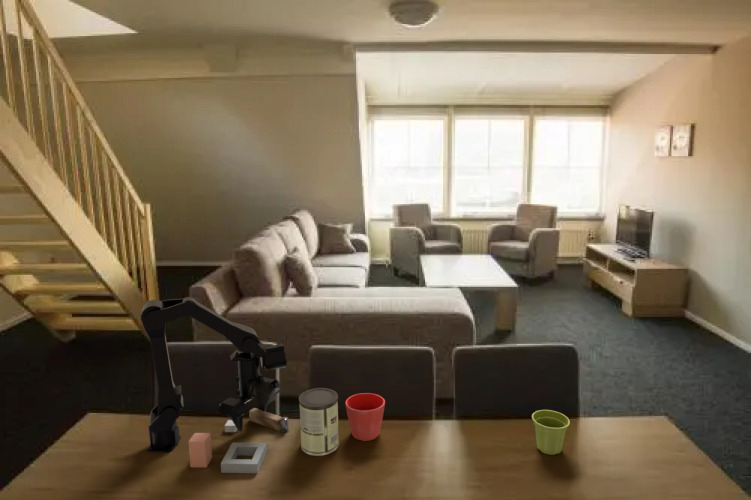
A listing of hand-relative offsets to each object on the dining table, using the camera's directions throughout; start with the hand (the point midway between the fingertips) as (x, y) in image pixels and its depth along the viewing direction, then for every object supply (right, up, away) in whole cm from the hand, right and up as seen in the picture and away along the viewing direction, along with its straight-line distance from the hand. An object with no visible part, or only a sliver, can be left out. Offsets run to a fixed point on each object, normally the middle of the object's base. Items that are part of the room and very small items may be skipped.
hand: (251, 423), depth 140 cm
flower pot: (+33, -2, -3) cm, 33 cm away
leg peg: (-9, -4, -16) cm, 19 cm away
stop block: (-5, -1, -1) cm, 6 cm away
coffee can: (+21, -3, -9) cm, 23 cm away
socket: (+2, -4, -16) cm, 17 cm away
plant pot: (+82, -3, -11) cm, 82 cm away
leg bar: (+4, -1, +2) cm, 4 cm away
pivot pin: (+10, -1, -2) cm, 10 cm away
